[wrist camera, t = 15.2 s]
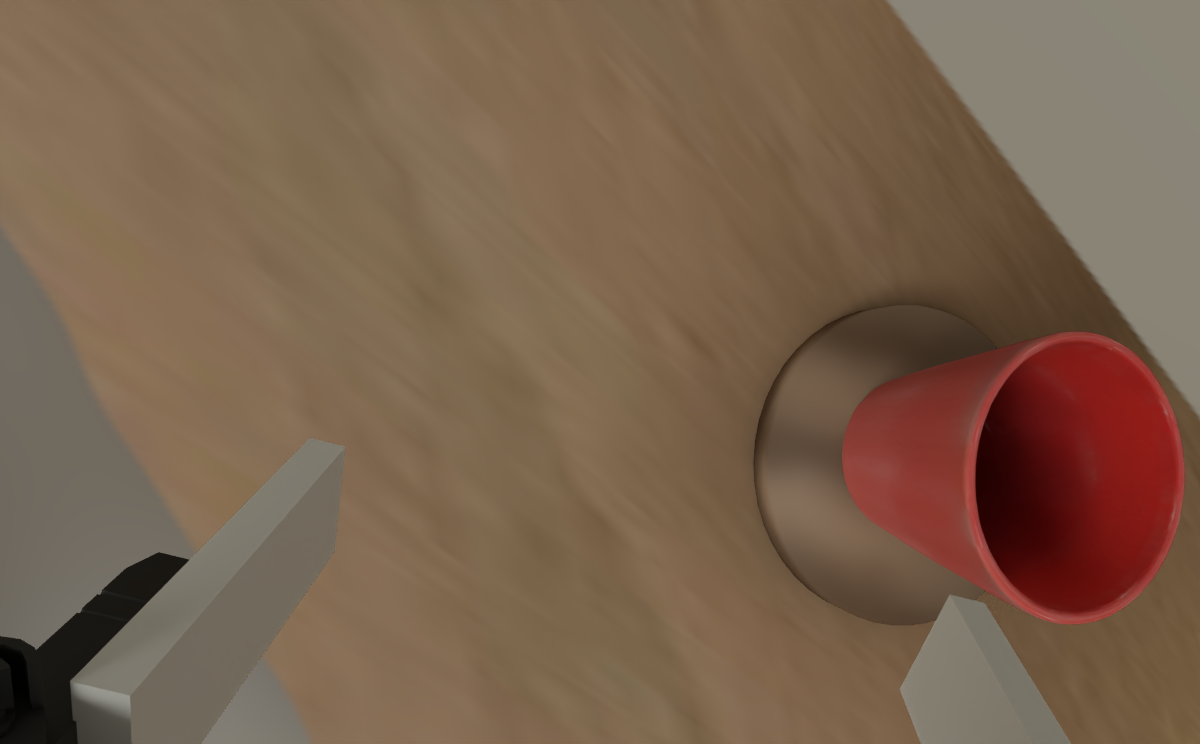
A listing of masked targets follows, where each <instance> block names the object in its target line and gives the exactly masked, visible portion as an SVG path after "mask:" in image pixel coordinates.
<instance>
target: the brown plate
mask: <svg viewBox="0 0 1200 744" xmlns="http://www.w3.org/2000/svg"><path fill="white" fill-rule="evenodd" d="M995 349H998V348H997V347H996V346H995V345H994V344H993V343H992V342H991V341H990V340H989V339H988V338H987V337H986V336H985V335H983V334H982V333H981V332H980V331H979V330H978V329H976V328H975V327H973V326H972V325H970V324H968V323H967V322H965V321H964V320H962V319H960V318H958V317H956V316H954V315H952V314H949V313H947V312H944V311H941V310H937V309H934V308H931V307H924V306H917V305H894V306H888V307H882V308H876V309H870V310H864V311H859V312H856V313H853V314H850V315H847V316H844V317H841V318H839V319H837V320H835V321H833V322H831V323H829V324H827V325H826V326H824V327H823V328H821V329H820V330H819V331H817V332H816V333H814V334H813V335H812V336H810V337H809V338H808V339H807V340H806V341H805V342H804V343H803V344H802V345H801V346H800V347H799V348H798V349H797V350H796V351H795V352H794V353H793V355H792V356H791V357H790V358H789V359H788V361H787V362H786V363H785V365H784V366H783V368H782V369H781V371H780V373H779V374H778V376H777V377H776V379H775V381H774V383H773V385H772V387H771V389H770V391H769V393H768V396H767V398H766V400H765V403H764V406H763V409H762V413H761V416H760V419H759V423H758V428H757V434H756V439H755V450H754V482H755V489H756V495H757V501H758V506H759V509H760V513H761V516H762V520H763V523H764V526H765V528H766V530H767V533H768V535H769V537H770V540H771V542H772V544H773V546H774V547H775V549H776V551H777V552H778V554H779V556H780V557H781V559H782V561H783V562H784V563H785V564H786V566H787V567H788V568H789V570H790V571H791V572H792V573H793V575H794V576H795V577H796V578H797V579H798V580H799V581H800V582H801V583H803V584H804V585H805V586H806V587H807V588H808V589H809V590H810V591H812V592H813V593H815V594H816V595H817V596H819V597H820V598H822V599H823V600H825V601H827V602H829V603H831V604H833V605H835V606H837V607H839V608H841V609H843V610H845V611H847V612H849V613H851V614H853V615H855V616H857V617H860V618H863V619H866V620H869V621H872V622H876V623H882V624H889V625H915V624H921V623H928V622H931V621H934V620H937V618H938V616H939V614H940V612H941V610H942V608H943V606H944V604H945V602H946V601H947V599H948V597H949V595H954V596H958V597H962V598H966V599H970V600H976V599H977V598H978V597H979V596H980V595H981V594H983V593H984V592H985V590H983V589H982V588H980V587H978V586H976V585H975V584H973V583H971V582H969V581H968V580H966V579H964V578H962V577H961V576H959V575H957V574H956V573H954V572H952V571H950V570H949V569H947V568H945V567H943V566H942V565H940V564H938V563H936V562H935V561H933V560H931V559H930V558H928V557H926V556H925V555H923V554H921V553H920V552H918V551H917V550H915V549H913V548H912V547H910V546H909V545H907V544H906V543H904V542H902V541H901V540H899V539H898V538H896V537H895V536H893V535H892V534H890V533H889V532H887V531H886V530H884V529H882V528H881V527H879V526H878V525H876V524H875V523H873V522H872V521H871V520H869V519H868V518H867V517H866V516H865V515H864V514H863V513H862V512H861V510H860V509H859V508H858V506H857V505H856V504H855V502H854V501H853V499H852V497H851V495H850V493H849V491H848V488H847V485H846V482H845V478H844V473H843V465H842V448H843V441H844V436H845V432H846V429H847V426H848V423H849V421H850V419H851V416H852V414H853V413H854V411H855V409H856V408H857V406H858V405H859V404H860V403H861V402H862V401H863V400H864V399H865V398H866V396H867V395H868V394H869V393H870V392H872V391H873V390H874V389H875V388H877V387H879V386H880V385H882V384H884V383H886V382H888V381H891V380H894V379H896V378H899V377H902V376H906V375H909V374H912V373H915V372H918V371H921V370H924V369H927V368H931V367H934V366H938V365H941V364H944V363H948V362H952V361H955V360H959V359H962V358H966V357H970V356H973V355H977V354H980V353H984V352H988V351H992V350H995Z"/></svg>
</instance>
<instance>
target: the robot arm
mask: <svg viewBox="0 0 1200 744" xmlns="http://www.w3.org/2000/svg"><path fill="white" fill-rule="evenodd" d="M345 448H346V447H345V446H341V445H337V444H333V443H329V442H325V441H321V440H316V439H312V438H309V439H308V441H307V442H306V443H305V444H304V445H303V446H302V447H301V448H300V449H299V450H298V451H297V452H296V453H295V454H294V455H293V456H292V457H291V458H290V459H289V460H288V461H287V462H286V463H285V464H284V465H283V466H282V467H281V468H280V469H279V470H278V471H277V472H276V473H275V474H274V475H273V476H272V477H271V478H270V479H269V480H268V481H267V482H266V483H265V484H264V485H263V486H262V487H261V488H260V489H259V490H258V491H257V492H256V493H255V494H254V495H253V496H252V497H251V498H250V499H249V500H248V501H247V502H246V503H245V504H244V505H243V506H242V507H241V508H240V509H239V511H238V512H237V513H236V514H235V515H234V516H233V517H232V518H231V519H230V520H229V521H228V522H227V523H226V524H225V525H224V526H223V527H222V528H221V529H220V530H219V531H218V532H217V533H216V534H215V535H214V536H213V537H212V538H211V539H210V540H209V541H208V542H207V543H206V544H205V545H204V546H203V547H202V548H201V549H200V550H199V551H198V552H197V553H196V554H195V555H194V556H193V557H192V558H191V559H190V560H188V559H184V558H180V557H176V556H172V555H168V554H164V553H160V552H159V553H156V554H154V555H152V556H150V557H148V558H146V559H144V560H142V561H140V562H138V563H136V564H134V565H132V566H130V567H128V568H126V569H125V570H124V571H123V572H121V573H120V574H119V575H118V576H117V577H116V578H115V579H114V580H113V581H112V582H110V583H109V584H108V585H107V586H106V587H105V588H104V589H103V590H102V592H101V594H100V595H98V594H97V595H96V596H95V597H94V598H93V599H92V600H91V601H90V602H89V603H87V604H86V605H85V606H84V607H83V608H82V611H81V612H80V613H76V614H75V615H74V616H73V617H72V618H71V619H70V620H69V621H68V622H67V623H65V624H64V625H63V626H62V627H61V628H60V629H59V630H58V631H57V632H56V633H55V634H53V635H52V636H51V637H50V638H49V639H48V640H47V641H46V642H45V643H43V644H42V645H41V646H40V647H39V648H38V649H37V650H35V648H34V647H33V646H31V645H29V644H28V643H26V642H24V641H22V640H21V639H15V638H8V637H1V636H0V744H201V743H202V741H203V740H204V739H205V737H206V736H207V734H208V733H209V731H210V730H211V728H212V727H213V726H214V724H215V723H216V721H217V720H218V718H219V717H220V716H221V714H222V713H223V711H224V710H225V708H226V707H227V706H228V704H229V703H230V701H231V700H232V698H233V697H234V695H235V694H236V693H237V691H238V690H239V688H240V687H241V685H242V684H243V682H244V681H245V680H246V678H247V677H248V675H249V674H250V673H251V671H252V670H253V668H254V667H255V665H256V664H257V662H258V661H259V660H260V658H261V657H262V655H263V654H264V652H265V651H266V650H267V648H268V647H269V645H270V644H271V642H272V641H273V639H274V638H275V637H276V635H277V634H278V632H279V631H280V629H281V628H282V627H283V625H284V624H285V622H286V621H287V619H288V618H289V616H290V615H291V614H292V612H293V611H294V609H295V608H296V606H297V605H298V604H299V602H300V601H301V599H302V598H303V596H304V595H305V593H306V592H307V591H308V589H309V588H310V586H311V585H312V583H313V582H314V581H315V579H316V578H317V576H318V575H319V573H320V572H321V571H322V569H323V568H324V566H325V565H326V563H327V562H328V560H329V559H330V558H331V556H332V555H333V553H334V551H335V541H336V532H337V523H338V514H339V504H340V495H341V486H342V476H343V467H344V458H345ZM900 691H901V694H902V696H903V699H904V702H905V704H906V707H907V709H908V712H909V714H910V717H911V720H912V722H913V725H914V727H915V730H916V732H917V735H918V738H919V740H920V743H921V744H1071V743H1070V741H1069V739H1068V738H1067V736H1066V734H1065V733H1064V731H1063V730H1062V728H1061V726H1060V725H1059V723H1058V721H1057V720H1056V718H1055V717H1054V715H1053V713H1052V712H1051V710H1050V708H1049V707H1048V705H1047V704H1046V702H1045V700H1044V699H1043V697H1042V695H1041V694H1040V692H1039V691H1038V689H1037V687H1036V686H1035V684H1034V682H1033V681H1032V679H1031V678H1030V676H1029V674H1028V673H1027V671H1026V669H1025V668H1024V666H1023V665H1022V663H1021V661H1020V660H1019V658H1018V656H1017V655H1016V653H1015V652H1014V650H1013V648H1012V647H1011V645H1010V643H1009V642H1008V640H1007V639H1006V637H1005V635H1004V634H1003V632H1002V630H1001V629H1000V627H999V626H998V624H997V622H996V621H995V619H994V617H993V616H992V614H991V613H990V611H989V609H988V608H987V606H986V604H985V603H983V602H979V601H975V600H970V599H966V598H962V597H958V596H954V595H949V597H948V599H947V601H946V602H945V604H944V606H943V608H942V610H941V612H940V614H939V616H938V618H937V620H936V621H935V623H934V625H933V627H932V629H931V631H930V633H929V635H928V637H927V639H926V640H925V642H924V644H923V646H922V648H921V650H920V652H919V654H918V656H917V658H916V659H915V661H914V663H913V665H912V667H911V669H910V671H909V673H908V675H907V676H906V678H905V680H904V682H903V684H902V686H901V688H900Z"/></svg>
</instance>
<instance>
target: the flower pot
mask: <svg viewBox="0 0 1200 744" xmlns="http://www.w3.org/2000/svg"><path fill="white" fill-rule="evenodd" d="M842 465H843V473H844V478H845V482H846V485H847V488H848V491H849V493H850V495H851V497H852V499H853V501H854V502H855V504H856V505H857V506H858V508H859V509H860V510H861V512H862V513H863V514H864V515H865V516H866V517H867V518H868V519H869V520H871V521H872V522H873V523H875V524H876V525H878V526H879V527H881V528H882V529H884V530H886V531H887V532H889V533H890V534H892V535H893V536H895V537H896V538H898V539H899V540H901V541H902V542H904V543H906V544H907V545H909V546H910V547H912V548H913V549H915V550H917V551H918V552H920V553H921V554H923V555H925V556H926V557H928V558H930V559H931V560H933V561H935V562H936V563H938V564H940V565H942V566H943V567H945V568H947V569H949V570H950V571H952V572H954V573H956V574H957V575H959V576H961V577H962V578H964V579H966V580H968V581H969V582H971V583H973V584H975V585H976V586H978V587H980V588H982V589H983V590H985V591H987V592H989V593H991V594H992V595H994V596H996V597H998V598H999V599H1001V600H1003V601H1005V602H1007V603H1009V604H1011V605H1013V606H1015V607H1017V608H1018V609H1020V610H1022V611H1024V612H1026V613H1029V614H1031V615H1033V616H1035V617H1037V618H1040V619H1042V620H1045V621H1049V622H1053V623H1058V624H1084V623H1089V622H1094V621H1097V620H1100V619H1103V618H1105V617H1108V616H1110V615H1112V614H1114V613H1115V612H1117V611H1119V610H1120V609H1122V608H1124V607H1125V606H1126V605H1128V604H1129V603H1130V602H1131V601H1133V600H1134V599H1135V598H1136V597H1137V596H1138V595H1139V594H1140V593H1141V592H1142V591H1143V590H1144V589H1145V588H1146V586H1147V585H1148V584H1149V583H1150V582H1151V580H1152V579H1153V577H1154V576H1155V574H1156V573H1157V572H1158V570H1159V569H1160V567H1161V565H1162V563H1163V562H1164V560H1165V558H1166V556H1167V554H1168V552H1169V550H1170V547H1171V545H1172V542H1173V540H1174V537H1175V534H1176V531H1177V527H1178V523H1179V518H1180V513H1181V509H1182V503H1183V498H1184V488H1185V465H1184V454H1183V446H1182V441H1181V436H1180V432H1179V428H1178V424H1177V421H1176V418H1175V415H1174V412H1173V410H1172V407H1171V405H1170V402H1169V400H1168V398H1167V396H1166V394H1165V392H1164V390H1163V388H1162V386H1161V385H1160V383H1159V382H1158V380H1157V379H1156V377H1155V376H1154V374H1153V373H1152V372H1151V370H1150V369H1149V368H1148V366H1147V365H1146V364H1145V363H1144V362H1143V361H1142V360H1141V359H1140V358H1139V357H1138V356H1137V355H1136V354H1135V353H1134V352H1132V351H1131V350H1130V349H1128V348H1127V347H1125V346H1124V345H1122V344H1120V343H1119V342H1117V341H1115V340H1113V339H1110V338H1108V337H1106V336H1103V335H1100V334H1096V333H1090V332H1082V331H1070V332H1060V333H1055V334H1051V335H1047V336H1043V337H1039V338H1035V339H1031V340H1027V341H1024V342H1020V343H1016V344H1013V345H1009V346H1006V347H1002V348H999V349H995V350H992V351H988V352H984V353H980V354H977V355H973V356H970V357H966V358H962V359H959V360H955V361H952V362H948V363H944V364H941V365H938V366H934V367H931V368H927V369H924V370H921V371H918V372H915V373H912V374H909V375H906V376H902V377H899V378H896V379H894V380H891V381H888V382H886V383H884V384H882V385H880V386H879V387H877V388H875V389H874V390H873V391H872V392H870V393H869V394H868V395H867V396H866V398H865V399H864V400H863V401H862V402H861V403H860V404H859V405H858V406H857V408H856V409H855V411H854V413H853V414H852V416H851V419H850V421H849V423H848V426H847V429H846V432H845V436H844V441H843V448H842Z"/></svg>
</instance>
